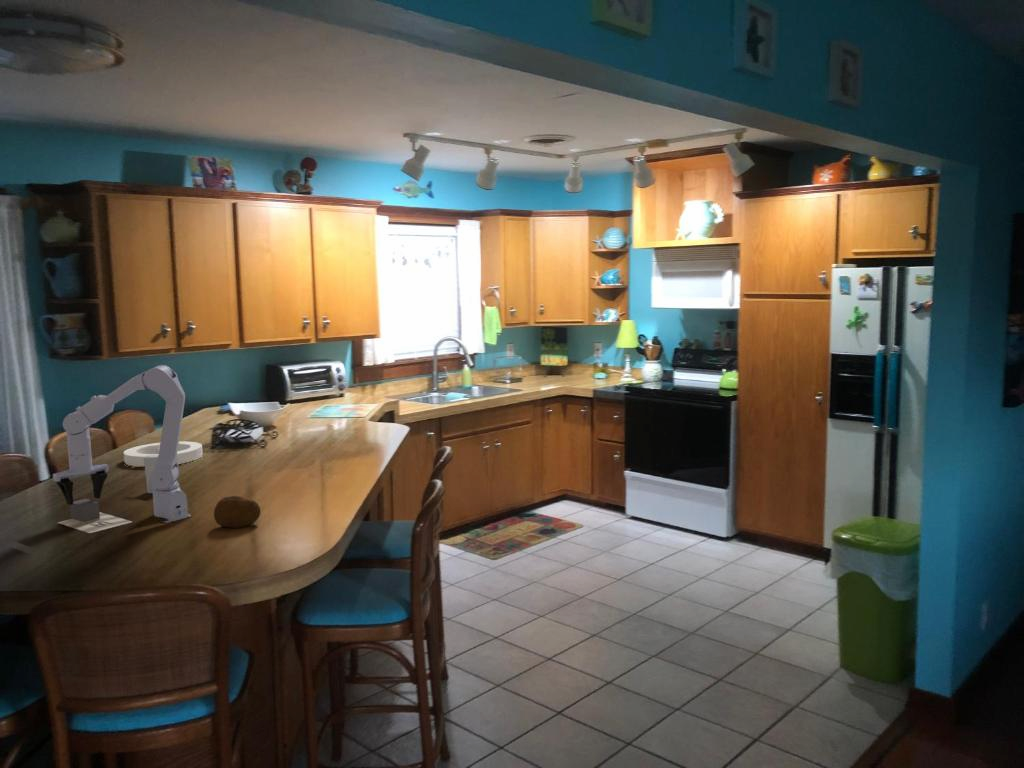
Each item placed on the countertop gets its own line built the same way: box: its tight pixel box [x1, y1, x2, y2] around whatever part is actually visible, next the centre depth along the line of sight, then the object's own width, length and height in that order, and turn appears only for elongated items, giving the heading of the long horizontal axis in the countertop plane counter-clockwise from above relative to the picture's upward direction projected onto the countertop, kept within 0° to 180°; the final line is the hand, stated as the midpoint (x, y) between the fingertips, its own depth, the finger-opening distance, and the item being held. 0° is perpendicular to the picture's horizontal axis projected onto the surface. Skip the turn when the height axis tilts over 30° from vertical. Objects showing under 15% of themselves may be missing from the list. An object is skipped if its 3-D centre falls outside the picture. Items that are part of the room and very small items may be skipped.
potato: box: [213, 495, 261, 529], centre depth 218 cm, size 8×12×9 cm
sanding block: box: [70, 498, 100, 523], centre depth 224 cm, size 7×4×5 cm, turn 55°
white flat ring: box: [123, 440, 204, 466], centre depth 306 cm, size 28×28×5 cm
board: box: [57, 511, 133, 534], centre depth 221 cm, size 18×12×1 cm, turn 55°
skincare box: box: [144, 455, 158, 494], centre depth 257 cm, size 6×4×12 cm
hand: (83, 500), depth 223 cm, fingers open, 7 cm apart
